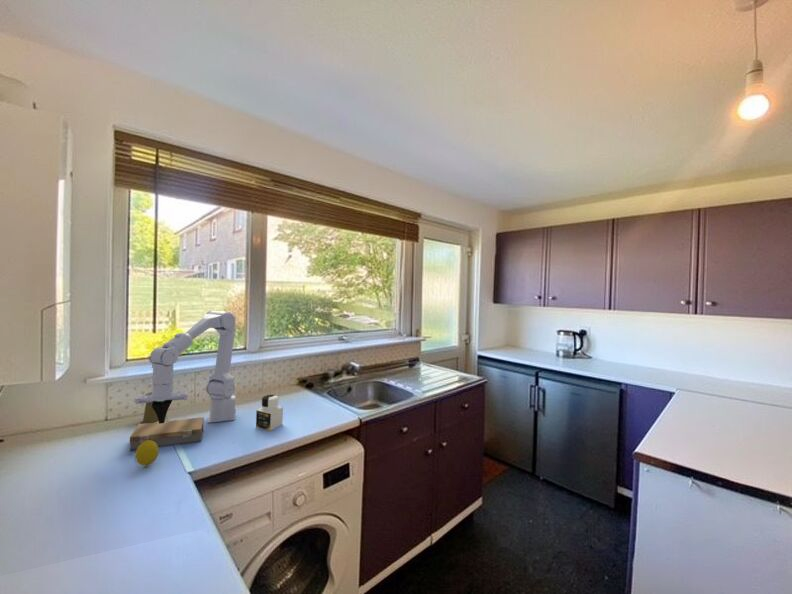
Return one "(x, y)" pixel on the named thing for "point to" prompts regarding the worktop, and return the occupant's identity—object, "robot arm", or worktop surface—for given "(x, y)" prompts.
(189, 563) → the worktop surface
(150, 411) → the cork
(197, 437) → the cable duct
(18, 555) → the worktop surface
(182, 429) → the tan flat wooden board
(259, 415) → the medicine bottle
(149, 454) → the lemon
